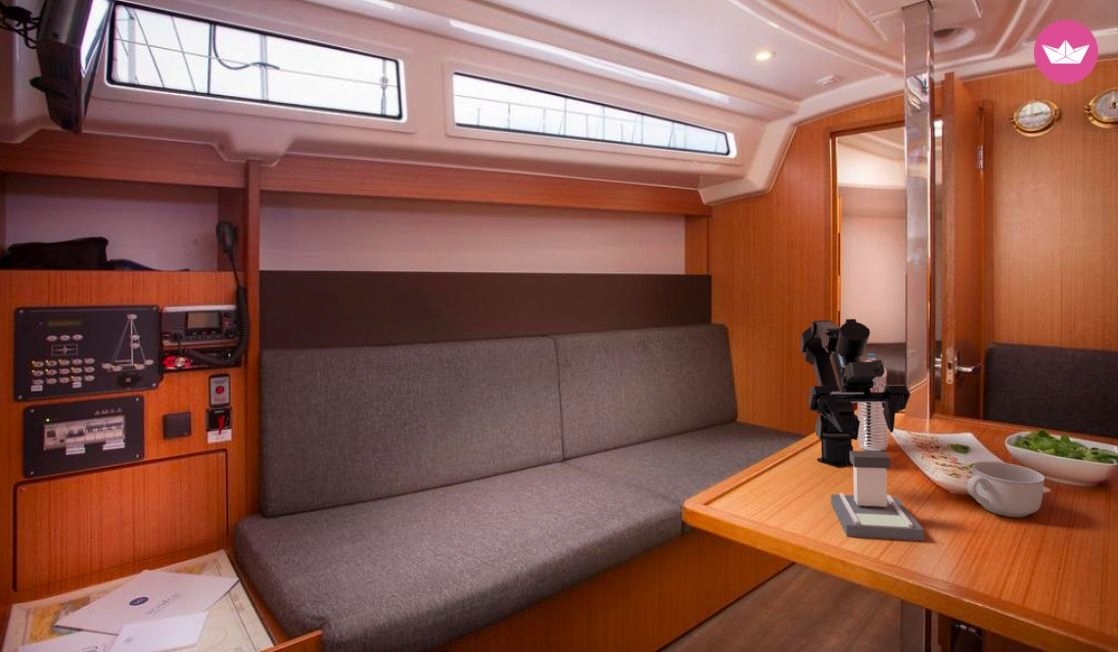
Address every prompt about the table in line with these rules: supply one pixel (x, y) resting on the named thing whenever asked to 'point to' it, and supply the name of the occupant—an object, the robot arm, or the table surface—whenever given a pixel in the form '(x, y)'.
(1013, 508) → the teacup
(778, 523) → the table surface
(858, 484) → the fader knob
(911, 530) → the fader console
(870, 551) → the table surface
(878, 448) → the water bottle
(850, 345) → the robot arm
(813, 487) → the table surface
